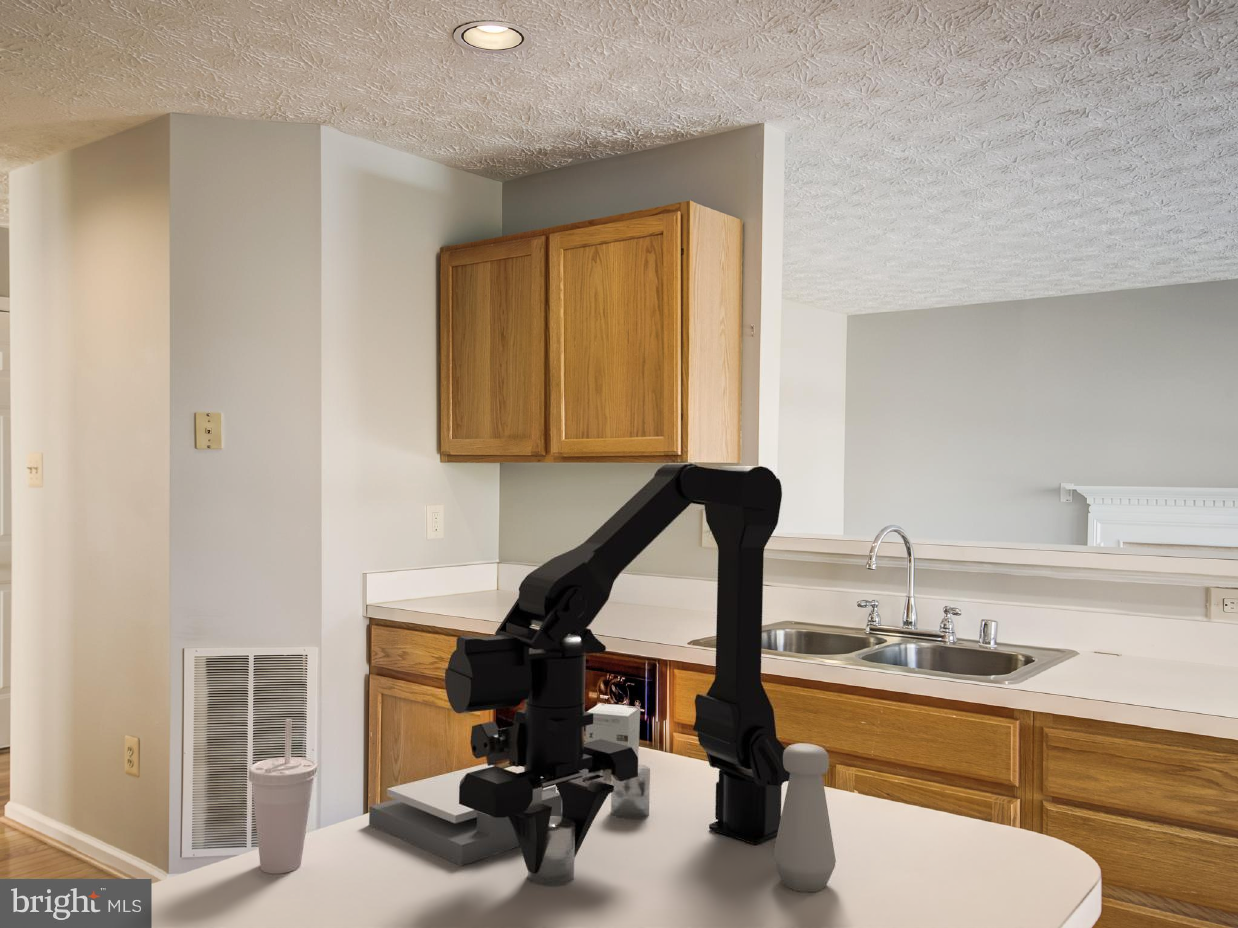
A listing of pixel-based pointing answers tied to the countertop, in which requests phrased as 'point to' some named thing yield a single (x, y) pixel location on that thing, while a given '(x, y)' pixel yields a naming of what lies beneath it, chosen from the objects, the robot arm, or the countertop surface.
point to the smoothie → (282, 807)
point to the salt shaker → (805, 822)
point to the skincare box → (615, 725)
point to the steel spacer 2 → (632, 796)
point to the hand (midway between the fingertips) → (551, 865)
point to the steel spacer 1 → (557, 854)
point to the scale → (448, 819)
